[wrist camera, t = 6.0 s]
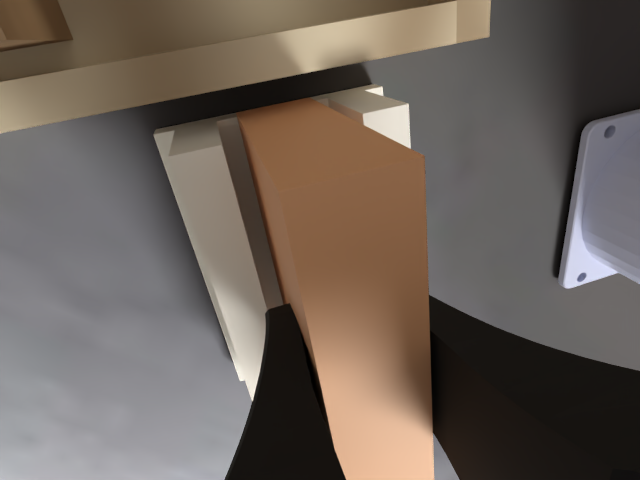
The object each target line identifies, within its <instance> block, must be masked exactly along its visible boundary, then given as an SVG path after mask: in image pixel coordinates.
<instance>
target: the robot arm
mask: <svg viewBox="0 0 640 480" xmlns="http://www.w3.org/2000/svg"><path fill="white" fill-rule="evenodd" d="M605 130H606V132H605ZM616 273H620V274H622V275H624V276H626V277H628V278H629V279H631V280H633V281H635V282H637V283H638V284H640V109H638V110H634V111H630V112H626V113H622V114H618V115H614V116H610V117H606V118H602V119H598V120H594V121H592V122H590V123H588V124H587V125H586V126H585V128H584V129H583V131H582V134H581V140H580V146H579V152H578V159H577V165H576V171H575V177H574V184H573V190H572V196H571V202H570V209H569V215H568V221H567V228H566V234H565V240H564V246H563V253H562V259H561V265H560V272H559V278H558V282H559V284H560V285H562V286H563V287H565V288H567V289H568V288H573V287H576V286H579V285H582V284H585V283H588V282H591V281H594V280H597V279H600V278H603V277H606V276H609V275H613V274H616ZM265 318H266V332H265V343H264V350H263V356H262V362H261V368H260V373H259V377H258V381H257V386H256V390H255V394H254V398H253V402H252V405H251V409H250V412H249V415H248V418H247V422H246V425H245V428H244V431H243V433H242V436H241V439H240V442H239V445H238V447H237V450H236V452H235V455H234V458H233V460H232V463H231V465H230V468H229V470H228V473H227V475H226V477H225V480H346V478H345V475H344V473H343V470H342V467H341V465H340V462H339V459H338V457H337V454H336V451H335V449H334V446H333V443H332V440H331V438H330V435H329V432H328V430H327V427H326V424H325V421H324V419H323V416H322V413H321V410H320V407H319V405H318V402H317V399H316V396H315V393H314V388H313V384H312V380H311V375H310V371H309V367H308V362H307V358H306V354H305V349H304V345H303V341H302V336H301V332H300V328H299V324H298V321H297V319H296V316H295V314H294V311H293V309H292V307H291V305H290V303H288V304H285V305H281V306H278V307H274V308H271V309H268V310H267V312H266V313H265ZM429 321H430V355H431V389H432V422H433V433H434V435H435V436H436V438H437V439H438V441H439V443H440V445H441V446H442V448H443V450H444V451H445V453H446V455H447V456H448V458H449V460H450V462H451V464H452V466H453V468H454V470H455V472H456V474H457V475H458V477H459V479H460V480H640V371H637V370H633V369H629V368H624V367H620V366H616V365H611V364H607V363H603V362H600V361H596V360H592V359H588V358H584V357H581V356H578V355H574V354H571V353H568V352H564V351H561V350H557V349H554V348H551V347H548V346H545V345H542V344H539V343H536V342H533V341H530V340H528V339H525V338H522V337H520V336H517V335H514V334H512V333H509V332H506V331H504V330H501V329H499V328H496V327H494V326H492V325H489V324H487V323H485V322H483V321H481V320H478V319H476V318H474V317H472V316H469V315H467V314H465V313H463V312H461V311H459V310H457V309H455V308H453V307H451V306H449V305H447V304H445V303H443V302H442V301H440V300H438V299H436V298H434V297H432V296H430V295H429Z"/></svg>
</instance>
